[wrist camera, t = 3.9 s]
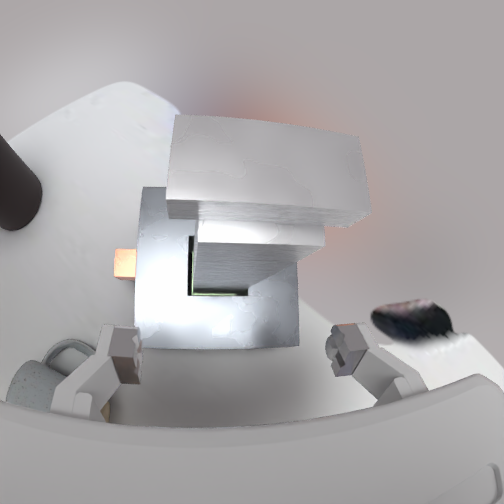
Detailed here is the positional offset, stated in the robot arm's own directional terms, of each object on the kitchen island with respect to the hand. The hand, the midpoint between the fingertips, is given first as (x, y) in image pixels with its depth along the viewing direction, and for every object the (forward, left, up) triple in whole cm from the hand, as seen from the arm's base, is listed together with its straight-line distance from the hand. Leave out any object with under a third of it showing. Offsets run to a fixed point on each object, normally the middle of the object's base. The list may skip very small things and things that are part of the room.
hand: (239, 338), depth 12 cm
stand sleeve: (-1, +4, -15) cm, 16 cm away
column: (-1, +4, -15) cm, 16 cm away
